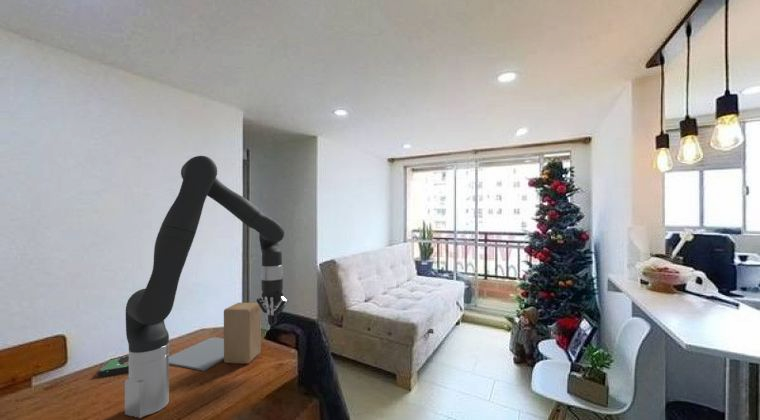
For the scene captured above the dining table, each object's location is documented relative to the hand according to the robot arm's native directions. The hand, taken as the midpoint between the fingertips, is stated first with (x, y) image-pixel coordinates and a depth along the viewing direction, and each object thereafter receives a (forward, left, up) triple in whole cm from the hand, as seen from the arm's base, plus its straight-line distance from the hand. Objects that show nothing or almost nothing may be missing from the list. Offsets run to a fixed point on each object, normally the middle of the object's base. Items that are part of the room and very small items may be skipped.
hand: (272, 324), depth 115 cm
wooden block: (0, +14, -14) cm, 20 cm away
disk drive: (-18, +49, -15) cm, 54 cm away
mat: (0, +31, -14) cm, 34 cm away
